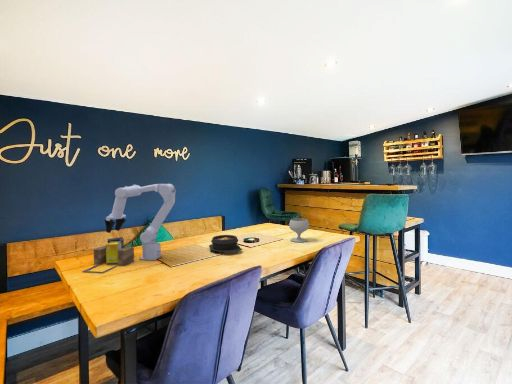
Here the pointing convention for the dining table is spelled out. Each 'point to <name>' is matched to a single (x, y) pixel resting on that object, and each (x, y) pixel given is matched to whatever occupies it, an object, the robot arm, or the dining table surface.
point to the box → (117, 241)
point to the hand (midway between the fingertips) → (112, 231)
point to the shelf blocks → (123, 256)
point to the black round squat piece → (225, 244)
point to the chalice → (299, 228)
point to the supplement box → (112, 252)
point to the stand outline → (97, 271)
